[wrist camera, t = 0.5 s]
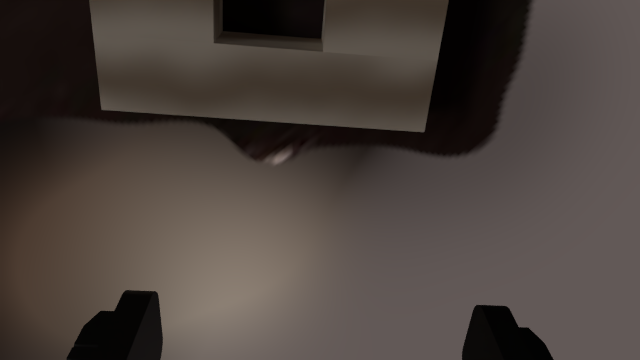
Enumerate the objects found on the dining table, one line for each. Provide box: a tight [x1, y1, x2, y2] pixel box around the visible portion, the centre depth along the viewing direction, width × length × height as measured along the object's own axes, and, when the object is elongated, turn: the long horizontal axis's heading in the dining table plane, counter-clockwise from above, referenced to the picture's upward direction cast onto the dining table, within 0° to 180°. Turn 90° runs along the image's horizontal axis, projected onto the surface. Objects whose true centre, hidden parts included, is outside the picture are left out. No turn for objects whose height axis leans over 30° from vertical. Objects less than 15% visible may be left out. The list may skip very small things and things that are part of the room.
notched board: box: [89, 0, 449, 132], centre depth 34 cm, size 12×22×4 cm, turn 85°
